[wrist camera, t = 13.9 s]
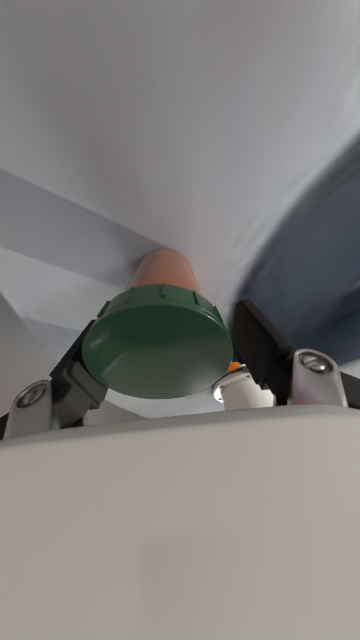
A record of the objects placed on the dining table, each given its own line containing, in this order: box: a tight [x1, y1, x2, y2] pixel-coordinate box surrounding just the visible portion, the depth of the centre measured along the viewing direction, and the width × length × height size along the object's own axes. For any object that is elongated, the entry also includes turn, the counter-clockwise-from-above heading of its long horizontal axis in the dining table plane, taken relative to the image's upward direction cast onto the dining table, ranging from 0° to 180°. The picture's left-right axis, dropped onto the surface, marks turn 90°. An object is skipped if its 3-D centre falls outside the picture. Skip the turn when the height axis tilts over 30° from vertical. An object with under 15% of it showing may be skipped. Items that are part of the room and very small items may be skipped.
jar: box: [124, 249, 203, 297], centre depth 11 cm, size 6×6×10 cm
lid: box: [82, 283, 234, 399], centre depth 7 cm, size 7×7×2 cm
